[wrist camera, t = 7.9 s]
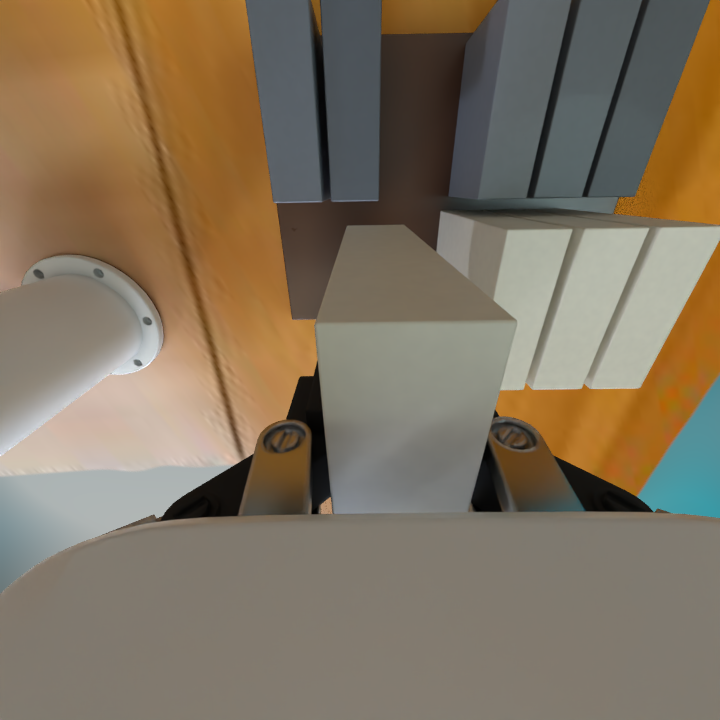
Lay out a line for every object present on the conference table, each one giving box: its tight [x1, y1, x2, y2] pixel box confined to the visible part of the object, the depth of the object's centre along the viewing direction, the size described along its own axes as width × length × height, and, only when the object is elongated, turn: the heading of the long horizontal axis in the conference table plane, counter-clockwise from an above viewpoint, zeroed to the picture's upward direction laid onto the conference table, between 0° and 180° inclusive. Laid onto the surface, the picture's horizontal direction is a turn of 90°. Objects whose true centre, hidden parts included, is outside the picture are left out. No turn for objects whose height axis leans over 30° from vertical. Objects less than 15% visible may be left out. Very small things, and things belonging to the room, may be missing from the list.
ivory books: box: [436, 209, 720, 390], centre depth 22 cm, size 10×9×13 cm
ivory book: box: [314, 225, 517, 514], centre depth 12 cm, size 3×9×13 cm, turn 1°
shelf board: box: [277, 33, 619, 320], centre depth 25 cm, size 28×20×2 cm
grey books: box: [245, 0, 710, 203], centre depth 19 cm, size 22×9×7 cm, turn 91°
